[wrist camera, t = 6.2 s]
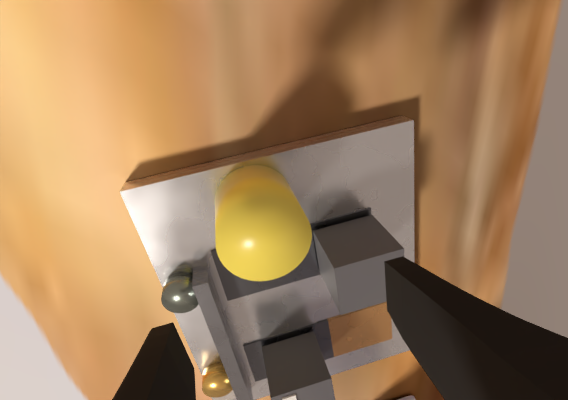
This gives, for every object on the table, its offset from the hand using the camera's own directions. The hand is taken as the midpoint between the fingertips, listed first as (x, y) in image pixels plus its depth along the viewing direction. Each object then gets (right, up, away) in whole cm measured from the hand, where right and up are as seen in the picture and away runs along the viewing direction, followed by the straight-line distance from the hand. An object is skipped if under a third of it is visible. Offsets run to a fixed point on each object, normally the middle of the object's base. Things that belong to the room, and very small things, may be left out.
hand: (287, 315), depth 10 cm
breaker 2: (+3, +1, +9) cm, 10 cm away
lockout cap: (-2, +3, +7) cm, 8 cm away
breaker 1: (0, -7, +12) cm, 14 cm away
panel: (+1, -1, +11) cm, 12 cm away
